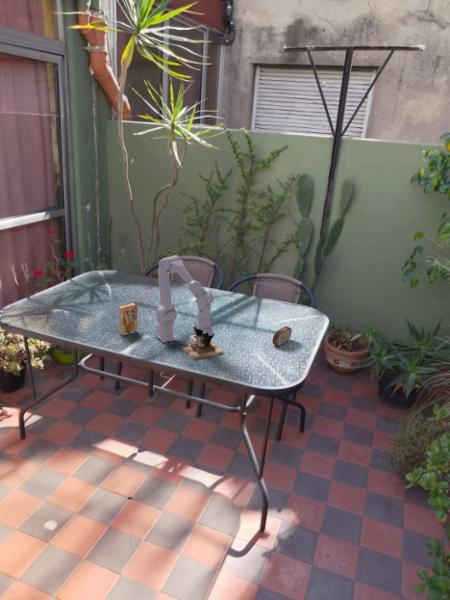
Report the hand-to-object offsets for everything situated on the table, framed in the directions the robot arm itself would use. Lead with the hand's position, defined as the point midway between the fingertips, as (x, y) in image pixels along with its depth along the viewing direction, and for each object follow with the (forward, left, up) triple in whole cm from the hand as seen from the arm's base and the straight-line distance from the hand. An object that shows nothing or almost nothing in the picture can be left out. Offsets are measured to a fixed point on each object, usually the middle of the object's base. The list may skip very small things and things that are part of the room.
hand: (203, 343), depth 219 cm
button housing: (-10, +3, -4) cm, 11 cm away
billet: (0, 0, -3) cm, 3 cm away
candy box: (-36, -25, -5) cm, 44 cm away
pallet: (0, 0, -4) cm, 4 cm away
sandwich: (+9, +42, -5) cm, 43 cm away
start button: (-10, +3, -3) cm, 11 cm away
